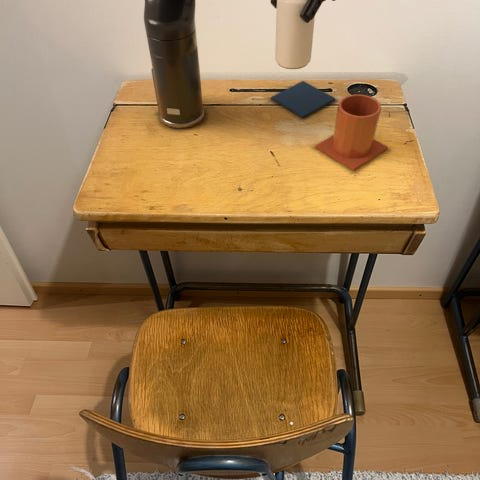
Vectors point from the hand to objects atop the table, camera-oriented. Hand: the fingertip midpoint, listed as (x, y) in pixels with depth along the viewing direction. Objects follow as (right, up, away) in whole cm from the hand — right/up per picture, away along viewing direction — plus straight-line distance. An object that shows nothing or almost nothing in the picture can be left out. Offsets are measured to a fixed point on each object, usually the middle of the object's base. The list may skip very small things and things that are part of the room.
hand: (288, 12), depth 77 cm
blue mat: (+6, -3, +25) cm, 26 cm away
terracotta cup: (+14, -17, +15) cm, 27 cm away
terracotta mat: (+14, -17, +15) cm, 27 cm away
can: (+1, -4, +8) cm, 9 cm away
